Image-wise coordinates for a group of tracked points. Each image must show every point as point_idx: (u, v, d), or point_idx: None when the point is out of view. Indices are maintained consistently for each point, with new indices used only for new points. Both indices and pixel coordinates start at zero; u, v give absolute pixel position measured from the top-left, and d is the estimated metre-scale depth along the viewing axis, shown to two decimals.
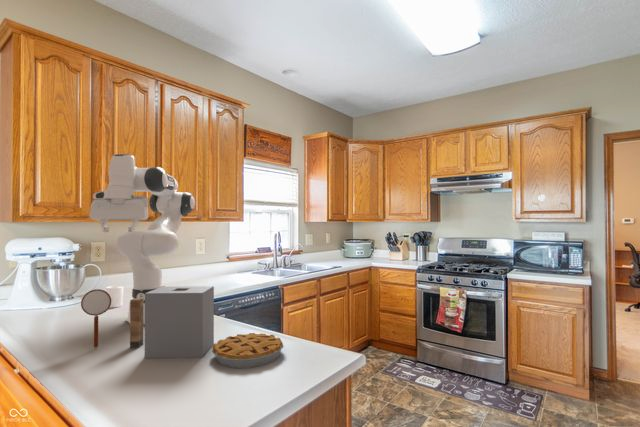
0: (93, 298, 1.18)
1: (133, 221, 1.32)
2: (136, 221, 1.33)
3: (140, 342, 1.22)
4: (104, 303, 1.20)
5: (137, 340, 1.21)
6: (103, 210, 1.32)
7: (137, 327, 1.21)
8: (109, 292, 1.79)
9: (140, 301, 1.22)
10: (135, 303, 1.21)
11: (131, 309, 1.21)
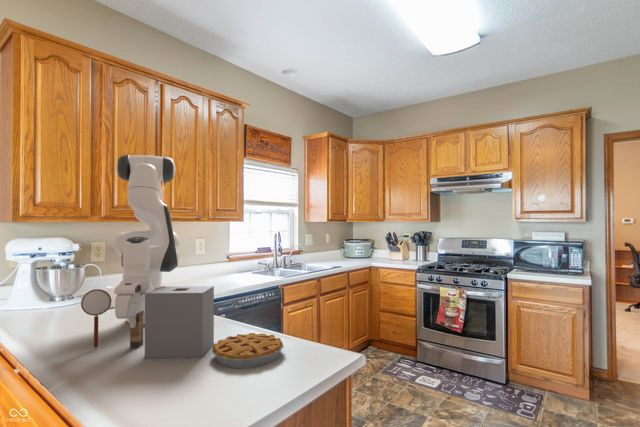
0: (93, 298, 1.18)
1: (144, 311, 1.26)
2: None
3: (140, 342, 1.22)
4: (104, 303, 1.20)
5: (137, 340, 1.21)
6: (134, 305, 1.17)
7: (137, 327, 1.21)
8: (109, 292, 1.79)
9: None
10: None
11: None
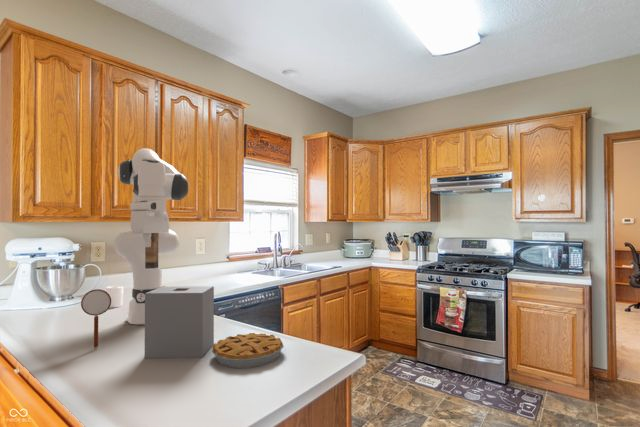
0: (93, 298, 1.18)
1: (159, 235, 1.24)
2: None
3: (155, 263, 1.20)
4: (104, 303, 1.20)
5: (152, 261, 1.19)
6: (150, 223, 1.16)
7: (152, 248, 1.19)
8: (109, 292, 1.79)
9: None
10: None
11: None
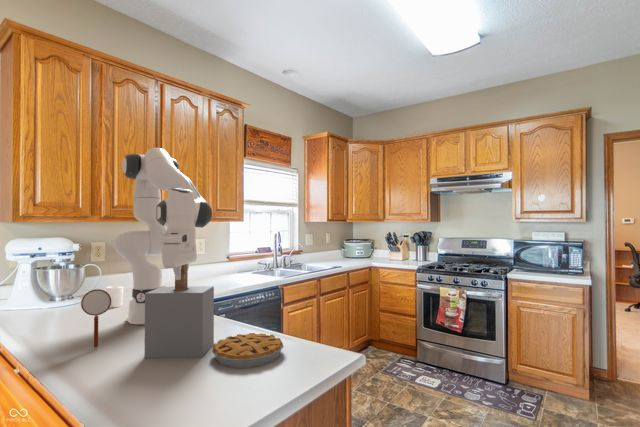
0: (93, 298, 1.18)
1: (188, 265, 1.21)
2: None
3: None
4: (104, 303, 1.20)
5: None
6: (180, 256, 1.13)
7: (182, 280, 1.16)
8: (109, 292, 1.79)
9: None
10: None
11: None
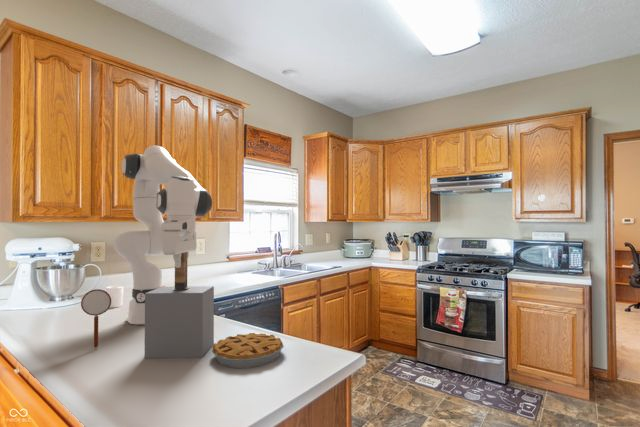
0: (93, 298, 1.18)
1: None
2: None
3: (185, 283, 1.17)
4: (104, 303, 1.20)
5: (182, 281, 1.16)
6: (180, 243, 1.13)
7: (182, 268, 1.16)
8: (109, 292, 1.79)
9: None
10: None
11: None
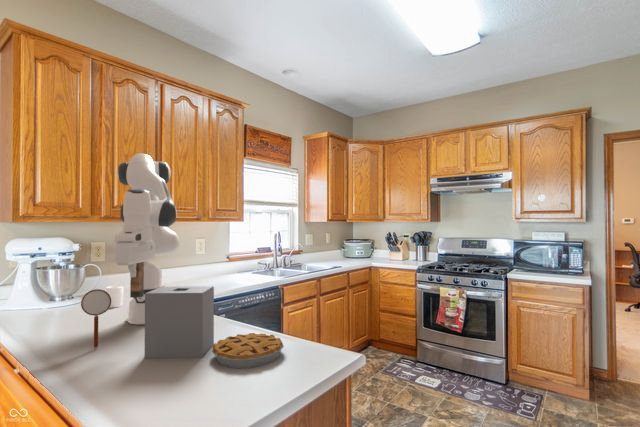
0: (93, 298, 1.18)
1: (144, 263, 1.26)
2: None
3: (140, 292, 1.22)
4: (104, 303, 1.20)
5: (137, 290, 1.21)
6: (134, 254, 1.18)
7: (137, 277, 1.21)
8: (109, 292, 1.79)
9: None
10: None
11: None
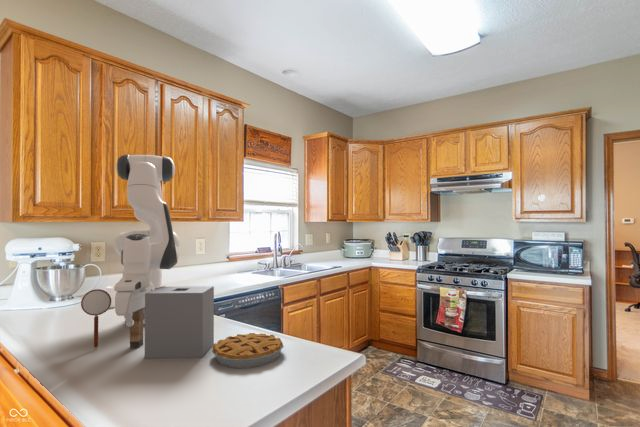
0: (93, 298, 1.18)
1: None
2: None
3: (140, 342, 1.22)
4: (104, 303, 1.20)
5: (137, 340, 1.21)
6: (134, 302, 1.17)
7: (137, 327, 1.21)
8: (109, 292, 1.79)
9: None
10: None
11: None
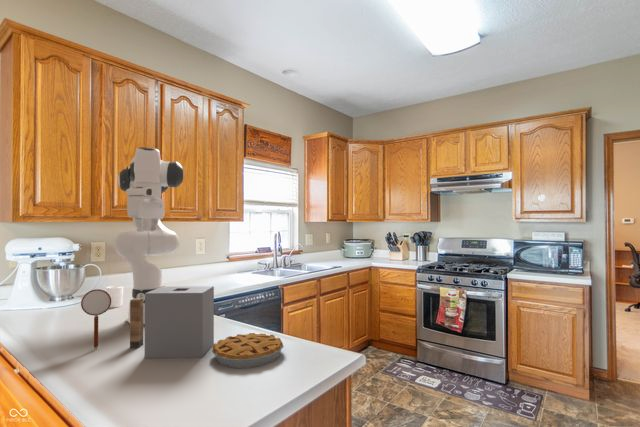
0: (93, 298, 1.18)
1: (157, 220, 1.32)
2: None
3: (140, 342, 1.22)
4: (104, 303, 1.20)
5: (137, 340, 1.21)
6: (145, 208, 1.21)
7: (137, 327, 1.21)
8: (109, 292, 1.79)
9: (140, 301, 1.22)
10: (135, 303, 1.21)
11: (131, 309, 1.21)
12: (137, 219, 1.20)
